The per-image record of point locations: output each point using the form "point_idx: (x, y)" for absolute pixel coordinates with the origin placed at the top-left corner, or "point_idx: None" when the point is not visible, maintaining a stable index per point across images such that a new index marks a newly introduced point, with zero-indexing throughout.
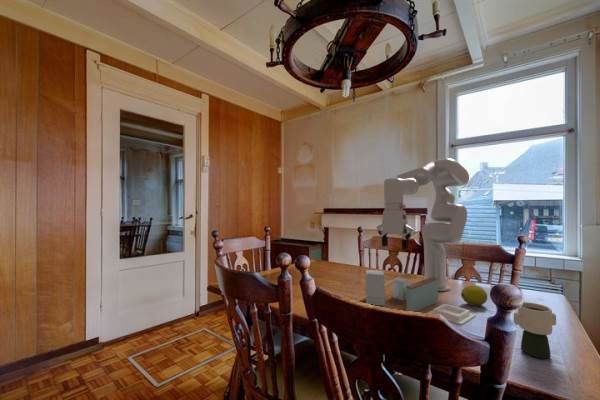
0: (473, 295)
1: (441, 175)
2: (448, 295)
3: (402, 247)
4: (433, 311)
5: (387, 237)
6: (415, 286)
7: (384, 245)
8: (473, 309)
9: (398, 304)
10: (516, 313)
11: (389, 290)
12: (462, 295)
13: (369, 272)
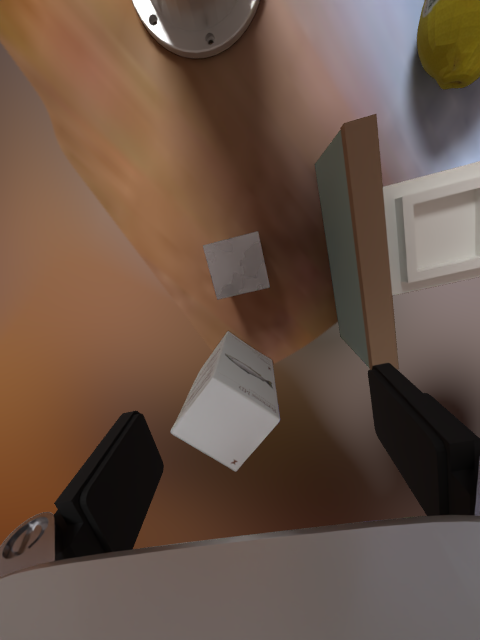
0: None
1: None
2: (309, 32)
3: (389, 447)
4: (404, 281)
5: (88, 496)
6: (395, 339)
7: (158, 464)
8: (461, 96)
9: (284, 315)
10: None
11: (156, 240)
12: (450, 81)
13: (220, 449)
